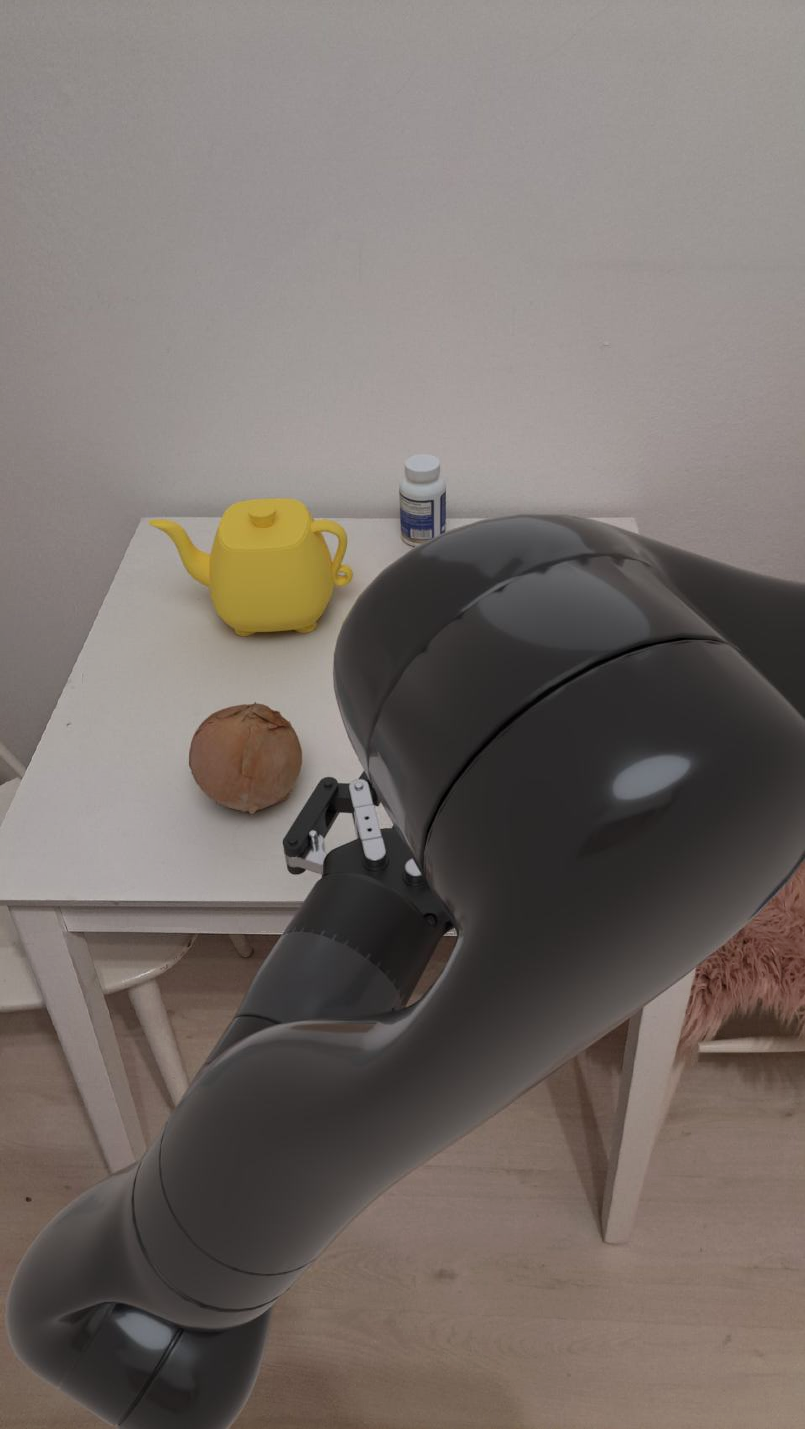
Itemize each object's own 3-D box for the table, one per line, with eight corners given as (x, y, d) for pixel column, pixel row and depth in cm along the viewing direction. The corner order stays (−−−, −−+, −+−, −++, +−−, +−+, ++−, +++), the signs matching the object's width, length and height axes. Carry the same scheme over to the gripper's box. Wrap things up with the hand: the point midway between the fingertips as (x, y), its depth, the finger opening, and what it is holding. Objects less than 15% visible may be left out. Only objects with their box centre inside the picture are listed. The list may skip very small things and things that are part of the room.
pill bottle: (425, 519, 114) (424, 446, 107) (454, 537, 111) (456, 463, 104) (391, 535, 111) (388, 461, 104) (420, 554, 108) (419, 479, 101)
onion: (284, 786, 87) (313, 693, 82) (286, 845, 78) (318, 745, 74) (182, 765, 84) (207, 668, 80) (173, 824, 76) (200, 719, 72)
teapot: (356, 644, 97) (348, 540, 88) (163, 655, 96) (136, 552, 87) (354, 568, 106) (346, 468, 98) (179, 577, 106) (155, 478, 97)
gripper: (463, 999, 43) (572, 767, 54) (209, 893, 48) (355, 699, 59) (460, 1072, 49) (560, 848, 59) (231, 970, 53) (362, 779, 64)
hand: (458, 774), depth 59 cm, fingers open, 8 cm apart
